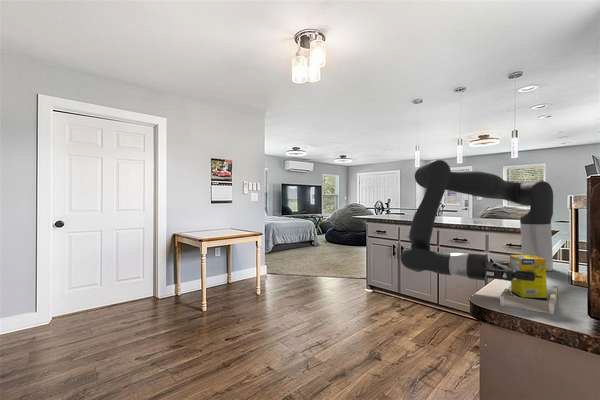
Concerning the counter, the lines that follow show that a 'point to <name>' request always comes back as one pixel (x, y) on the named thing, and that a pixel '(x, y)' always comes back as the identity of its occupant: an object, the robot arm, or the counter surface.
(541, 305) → the track dock
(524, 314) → the counter surface
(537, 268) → the supplement box
